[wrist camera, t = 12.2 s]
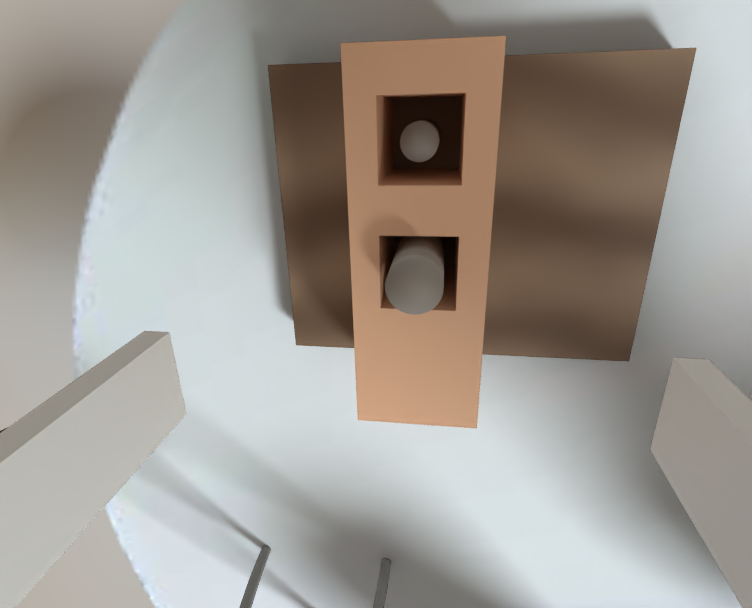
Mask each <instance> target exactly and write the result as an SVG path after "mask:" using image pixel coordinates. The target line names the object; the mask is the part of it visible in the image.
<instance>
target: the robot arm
mask: <svg viewBox="0 0 752 608" xmlns="http://www.w3.org/2000/svg"><path fill="white" fill-rule="evenodd" d="M186 414H187V413H186V408H185V404H184V399H183V394H182V390H181V385H180V380H179V376H178V371H177V366H176V362H175V357H174V352H173V347H172V343H171V338H170V333H169V332H155V331H144V332H142V333H141V334H139V335H138V336H137V337H135V338H134V339H132V340H131V341H130V342H128V343H127V344H125V345H124V346H123V347H121V348H120V349H118V350H117V351H115V352H114V353H113V354H111V355H110V356H108V357H107V358H106V359H104V360H103V361H101V362H100V363H99V364H97V365H96V366H94V367H93V368H91V369H90V370H89V371H87V372H86V373H84V374H83V375H82V376H80V377H79V378H77V379H76V380H75V381H73V382H72V383H70V384H69V385H68V386H66V387H65V388H63V389H62V390H60V391H59V392H58V393H56V394H55V395H53V396H52V397H50V398H49V399H48V400H46V401H45V402H44V403H42V404H41V405H39V406H38V407H36V408H35V409H34V410H32V411H31V412H29V413H28V414H27V415H25V416H24V417H22V418H21V419H19V420H18V421H17V422H15V423H14V424H13V425H11V426H10V427H8V428H6V429H3V430H1V431H0V608H15V607H16V606H17V605H18V604H19V603H20V602H21V601H22V600H23V598H24V597H25V596H26V595H27V594H28V593H29V592H30V590H31V589H32V588H33V587H34V586H35V585H36V584H37V583H38V581H39V580H40V579H41V578H42V577H43V576H44V575H45V574H46V572H47V571H48V570H49V569H50V568H51V567H52V565H53V564H54V563H55V562H56V561H57V560H58V559H59V557H60V556H61V555H62V554H63V553H64V552H65V551H66V550H67V549H68V547H69V546H70V545H71V544H72V543H73V542H74V541H75V540H76V538H77V537H78V536H79V535H80V534H81V533H82V532H83V531H84V529H85V528H86V527H87V526H88V525H89V524H90V523H91V521H92V520H93V519H94V518H95V517H96V516H97V515H98V514H99V512H100V511H101V510H102V509H103V508H104V507H105V506H106V504H107V503H108V502H109V501H110V500H111V499H112V498H113V497H114V495H115V494H116V493H117V492H118V491H119V490H120V489H121V488H122V486H123V485H124V484H125V483H126V482H127V481H128V480H129V478H130V477H131V476H132V475H133V474H134V473H135V472H136V471H137V469H138V468H139V467H140V466H141V465H142V464H143V463H144V461H145V460H146V459H147V458H148V457H149V456H150V455H151V454H152V452H153V451H154V450H155V449H156V448H157V447H158V446H159V444H160V443H161V442H162V441H163V440H164V439H165V438H166V437H167V435H168V434H169V433H170V432H171V431H172V430H173V429H174V428H175V426H176V425H177V424H178V423H179V422H180V421H181V420H182V418H183V417H184V416H185V415H186ZM650 451H651V452H652V454H653V456H654V458H655V459H656V461H657V463H658V464H659V466H660V468H661V470H662V471H663V473H664V475H665V476H666V478H667V480H668V481H669V483H670V485H671V487H672V488H673V490H674V492H675V493H676V495H677V497H678V499H679V500H680V502H681V504H682V505H683V507H684V509H685V510H686V512H687V514H688V516H689V517H690V519H691V521H692V522H693V524H694V526H695V527H696V529H697V531H698V533H699V534H700V536H701V538H702V539H703V541H704V543H705V545H706V546H707V548H708V550H709V551H710V553H711V555H712V556H713V558H714V560H715V562H716V563H717V565H718V567H719V568H720V570H721V572H722V574H723V575H724V577H725V579H726V580H727V582H728V584H729V585H730V587H731V589H732V591H733V592H734V594H735V596H736V597H737V599H738V601H739V602H740V604H741V606H742V608H752V401H751V400H750V399H749V398H748V397H747V396H746V395H745V394H744V393H743V392H742V391H741V390H740V389H739V388H738V387H737V386H736V385H735V384H734V383H732V382H731V381H730V380H729V379H728V378H727V377H726V376H725V375H724V374H723V373H722V372H721V371H720V370H719V369H718V368H717V367H716V366H715V365H714V364H713V363H712V362H711V361H710V360H709V359H694V358H674V357H673V361H672V365H671V369H670V373H669V377H668V381H667V385H666V389H665V393H664V397H663V401H662V404H661V408H660V412H659V416H658V420H657V424H656V428H655V432H654V436H653V440H652V444H651V448H650Z"/></svg>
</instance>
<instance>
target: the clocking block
mask: <svg viewBox="0 0 752 608" xmlns="http://www.w3.org/2000/svg"><path fill="white" fill-rule="evenodd" d="M340 44H341V66H342V88H343V109H344V131H345V153H346V175H347V196H348V218H349V240H350V261H351V283H352V305H353V327H354V348H355V370H356V392H357V413H358V420H366V421H380V422H394V423H408V424H423V425H437V426H451V427H465V428H477V418H478V405H479V392H480V378H481V365H482V351H483V338H484V325H485V311H486V298H487V285H488V271H489V258H490V245H491V231H492V218H493V205H494V191H495V178H496V165H497V151H498V138H499V125H500V111H501V98H502V85H503V71H504V58H505V45H506V36H486V37H464V38H443V39H421V40H399V41H378V42H356V43H340ZM430 97H462V107H461V129H460V151H459V168H415V169H394V139H393V99H395V98H430ZM394 236H444V237H456V241H455V263H454V269H444V290H443V295H442V298H441V300H440V302H439V303H438V304H437V306H436V307H435V308H433V309H432V310H430V311H429V312H426V313H423V314H418V315H412V314H406V313H404V312H401V311H399V310H398V309H396V308H395V307H394V306H393V305H392V304H391V303H390V301H389V300H388V298H387V295H386V292H385V282H386V278H387V275H388V273H389V270H390V267H391V264H392V262H393V259H394Z"/></svg>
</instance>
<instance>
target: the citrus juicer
mask: <svg viewBox="0 0 752 608" xmlns="http://www.w3.org/2000/svg"><path fill="white" fill-rule="evenodd" d="M270 551H271V549H270V548H269V547H268V546H263V547H262V549H261V552H260V554H259V556H258V559H257V561H256V563H255V566H254V568H253V571H252V573H251V576H250V579H249V582H248V584H247V587H246V590H245V593H244V596H243V599H242V602H241V605H240V608H251V607H252V604H253V600H254V597H255V594H256V591H257V588H258V585H259V582H260V579H261V576H262V573H263V570H264V567H265V564H266V561H267V559H268V556H269V554H270ZM390 565H391V562H390V560H388V559H383V560H382V563H381V569H380V575H379V580H378V585H377V590H376V595H375V600H374V605H373V608H384V605H385V599H386V594H387V588H388V581H389V573H390Z"/></svg>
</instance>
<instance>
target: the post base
mask: <svg viewBox="0 0 752 608" xmlns="http://www.w3.org/2000/svg"><path fill="white" fill-rule="evenodd" d="M695 52H696V48H678V49H653V50H629V51H604V52H580V53H555V54H530V55H506V56H505V58H504V71H503V85H502V98H501V111H500V125H499V138H498V151H497V165H496V178H495V191H494V205H493V218H492V231H491V245H490V258H489V271H488V285H487V298H486V311H485V325H484V338H483V351H482V354H488V355H509V356H530V357H550V358H571V359H591V360H612V361H629V359H630V354H631V349H632V345H633V340H634V336H635V331H636V326H637V322H638V317H639V312H640V308H641V303H642V298H643V294H644V289H645V284H646V280H647V275H648V270H649V266H650V261H651V257H652V252H653V247H654V243H655V238H656V233H657V229H658V224H659V219H660V215H661V210H662V205H663V201H664V196H665V191H666V187H667V182H668V178H669V173H670V168H671V164H672V159H673V154H674V150H675V145H676V140H677V136H678V131H679V126H680V122H681V117H682V112H683V108H684V103H685V99H686V94H687V89H688V85H689V80H690V75H691V71H692V66H693V61H694V57H695ZM268 72H269V82H270V91H271V101H272V111H273V121H274V131H275V141H276V151H277V161H278V171H279V180H280V190H281V200H282V210H283V220H284V230H285V240H286V250H287V260H288V269H289V279H290V289H291V299H292V309H293V319H294V329H295V339H296V345H303V346H323V347H344V348H354V327H353V305H352V283H351V261H350V240H349V218H348V196H347V175H346V153H345V131H344V109H343V88H342V66H341V62H334V63H309V64H284V65H268ZM461 107H462V97H430V98H395V99H393V139H394V169H415V168H459V151H460V129H461ZM455 241H456V237H444V236H394V259H393V262H392V264H391V267H390V270H389V273H388V275H387V278H386V282H385V292H386V295H387V298H388V300H389V301H390V303H391V304H392V305H393V306H394V307H395V308H396V309H398V310H399V311H401V312H404V313H406V314H412V315H418V314H423V313H426V312H429V311H430V310H432V309H433V308H435V307H436V306H437V304H438V303H439V302H440V300H441V298H442V295H443V290H444V269H454V263H455Z"/></svg>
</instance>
